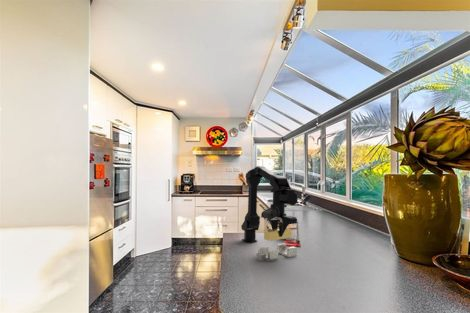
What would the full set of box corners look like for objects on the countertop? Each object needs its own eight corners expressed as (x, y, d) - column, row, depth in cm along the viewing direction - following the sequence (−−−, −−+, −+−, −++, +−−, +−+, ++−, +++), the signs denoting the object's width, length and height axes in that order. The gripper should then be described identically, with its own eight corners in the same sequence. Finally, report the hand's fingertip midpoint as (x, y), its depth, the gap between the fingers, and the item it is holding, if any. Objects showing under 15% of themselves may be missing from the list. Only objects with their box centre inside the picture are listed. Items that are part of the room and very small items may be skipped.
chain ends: (252, 257, 107) (253, 248, 108) (288, 250, 120) (288, 242, 120) (264, 263, 101) (264, 253, 101) (300, 254, 114) (300, 246, 114)
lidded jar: (287, 235, 151) (288, 220, 152) (300, 239, 142) (300, 224, 143) (275, 237, 145) (275, 222, 146) (287, 241, 136) (288, 225, 137)
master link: (264, 239, 109) (264, 228, 109) (285, 235, 117) (285, 226, 117) (269, 240, 106) (269, 230, 106) (290, 237, 114) (290, 227, 114)
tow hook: (284, 247, 127) (301, 247, 126) (283, 222, 128) (300, 222, 128) (281, 243, 135) (297, 243, 135) (281, 220, 136) (297, 220, 136)
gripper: (253, 200, 116) (252, 233, 114) (280, 205, 100) (279, 243, 99) (270, 200, 122) (269, 230, 121) (298, 204, 107) (297, 239, 105)
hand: (277, 235), depth 111 cm, fingers closed on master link, 3 cm apart
